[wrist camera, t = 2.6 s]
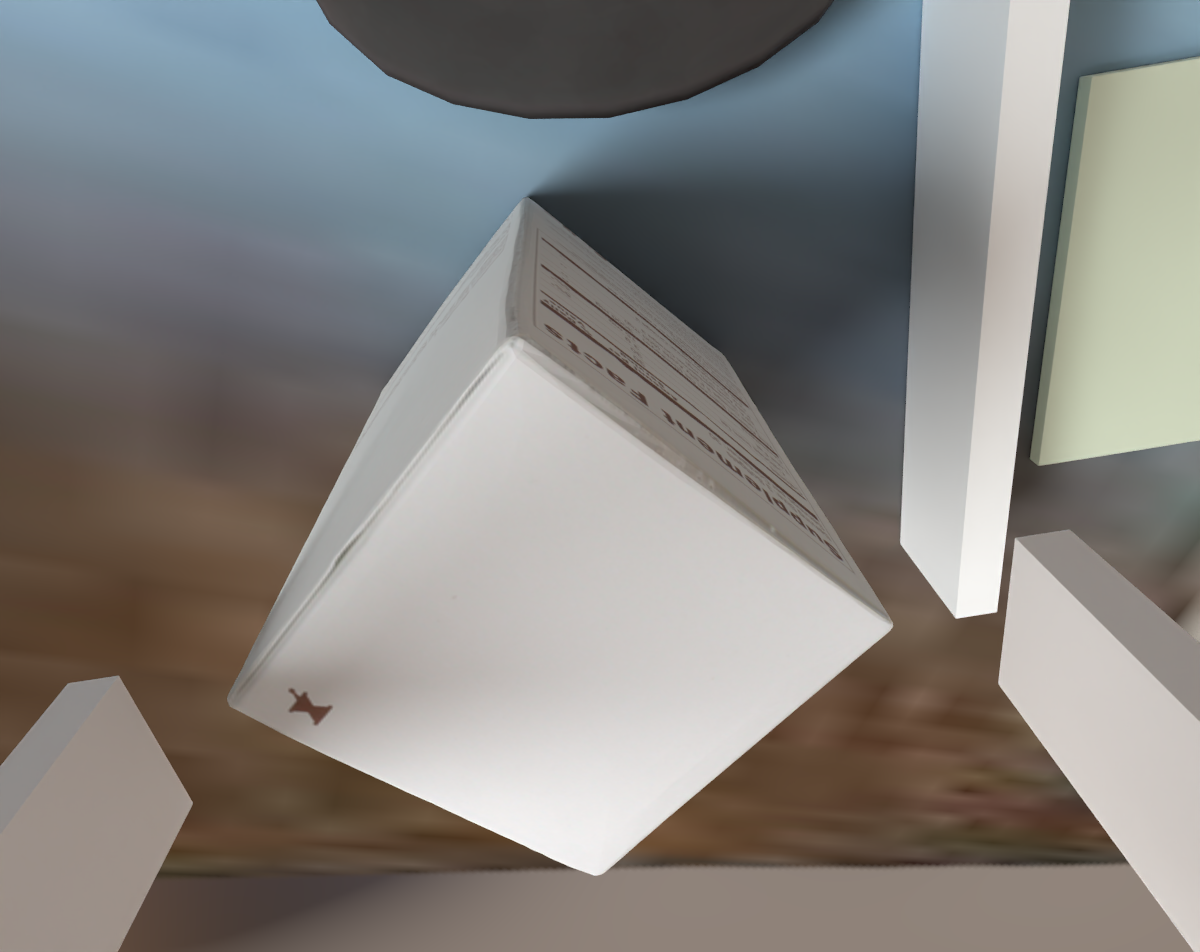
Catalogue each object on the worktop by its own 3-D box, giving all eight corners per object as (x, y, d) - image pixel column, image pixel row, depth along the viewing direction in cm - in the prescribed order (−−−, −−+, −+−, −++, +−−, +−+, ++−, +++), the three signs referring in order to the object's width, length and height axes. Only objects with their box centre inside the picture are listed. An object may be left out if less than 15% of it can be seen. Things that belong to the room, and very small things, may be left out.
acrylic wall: (923, -11, 18) (1012, -31, 15) (973, -20, 18) (1075, -42, 15) (900, 543, 26) (955, 618, 22) (935, 537, 26) (996, 612, 22)
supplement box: (573, 524, 25) (592, 896, 14) (374, 390, 22) (198, 712, 11) (732, 353, 22) (914, 636, 11) (530, 182, 20) (502, 325, 9)
